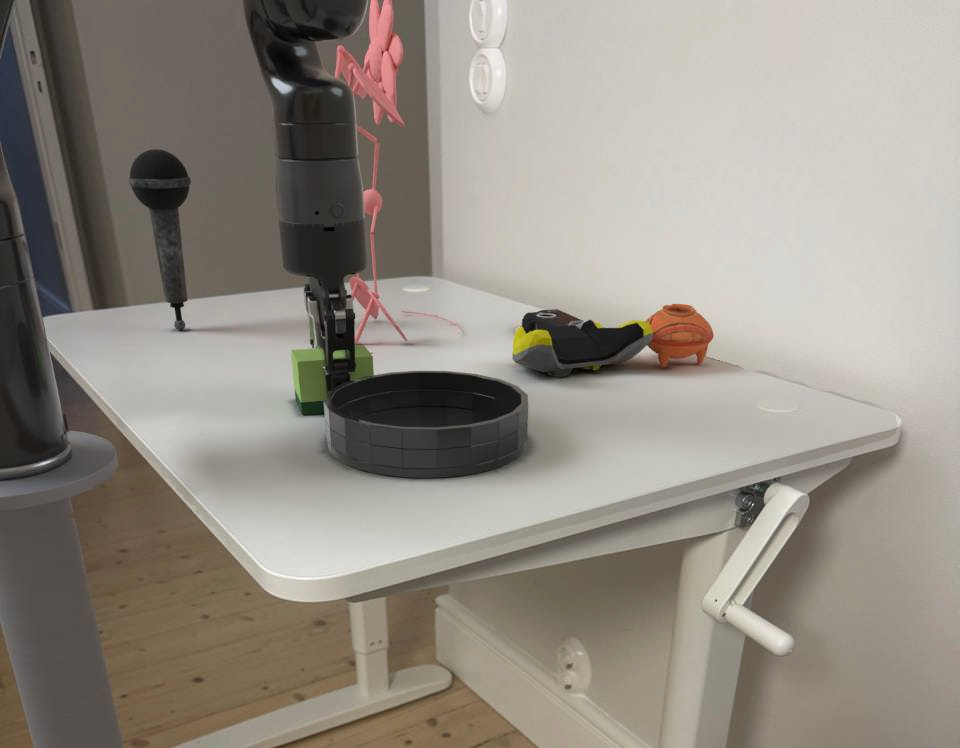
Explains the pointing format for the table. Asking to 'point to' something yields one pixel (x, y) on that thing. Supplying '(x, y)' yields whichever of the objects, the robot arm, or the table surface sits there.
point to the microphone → (164, 217)
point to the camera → (549, 319)
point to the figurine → (382, 89)
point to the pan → (426, 423)
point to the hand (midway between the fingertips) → (335, 405)
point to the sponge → (321, 375)
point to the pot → (679, 333)
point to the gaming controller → (579, 346)
